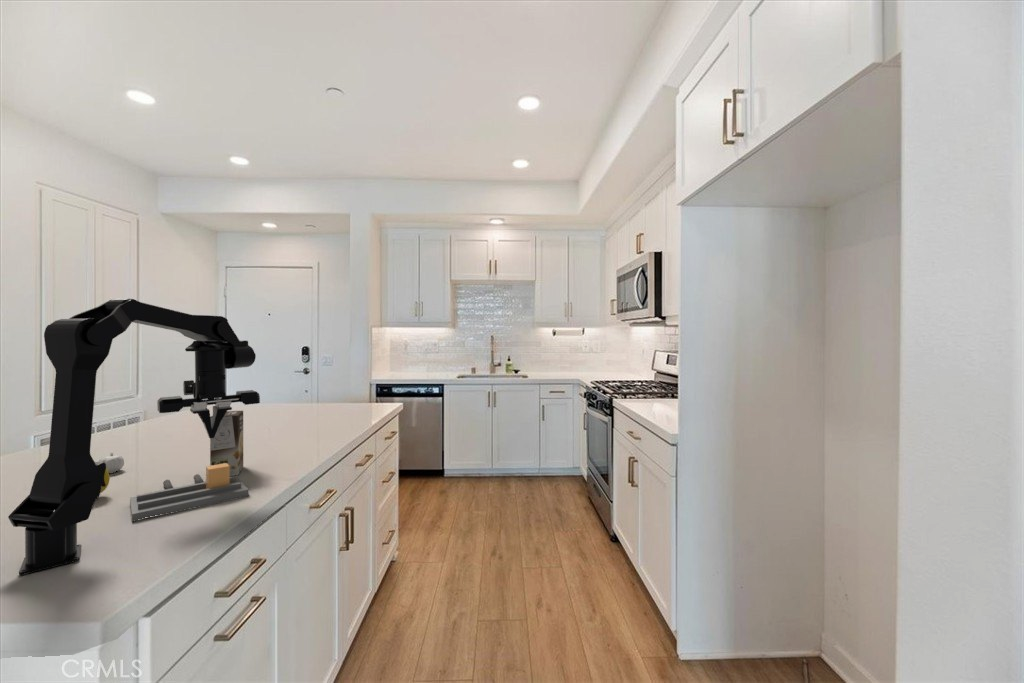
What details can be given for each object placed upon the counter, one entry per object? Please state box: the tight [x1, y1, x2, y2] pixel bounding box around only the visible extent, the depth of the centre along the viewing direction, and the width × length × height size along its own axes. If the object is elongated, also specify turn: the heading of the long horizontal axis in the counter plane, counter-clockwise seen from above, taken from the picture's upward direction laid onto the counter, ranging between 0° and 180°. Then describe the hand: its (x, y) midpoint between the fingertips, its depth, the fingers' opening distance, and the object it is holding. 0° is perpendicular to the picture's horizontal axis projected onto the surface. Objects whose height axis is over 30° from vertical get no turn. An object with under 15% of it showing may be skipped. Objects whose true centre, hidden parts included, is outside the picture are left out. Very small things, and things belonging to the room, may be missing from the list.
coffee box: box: [209, 410, 244, 477], centre depth 115 cm, size 9×6×16 cm
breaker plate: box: [129, 476, 250, 522], centre depth 95 cm, size 12×20×2 cm, turn 133°
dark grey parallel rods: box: [162, 473, 205, 490], centre depth 103 cm, size 11×7×1 cm
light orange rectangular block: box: [205, 463, 231, 489], centre depth 98 cm, size 3×4×5 cm
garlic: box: [98, 452, 125, 474], centre depth 115 cm, size 6×5×5 cm
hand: (211, 438), depth 98 cm, fingers closed
